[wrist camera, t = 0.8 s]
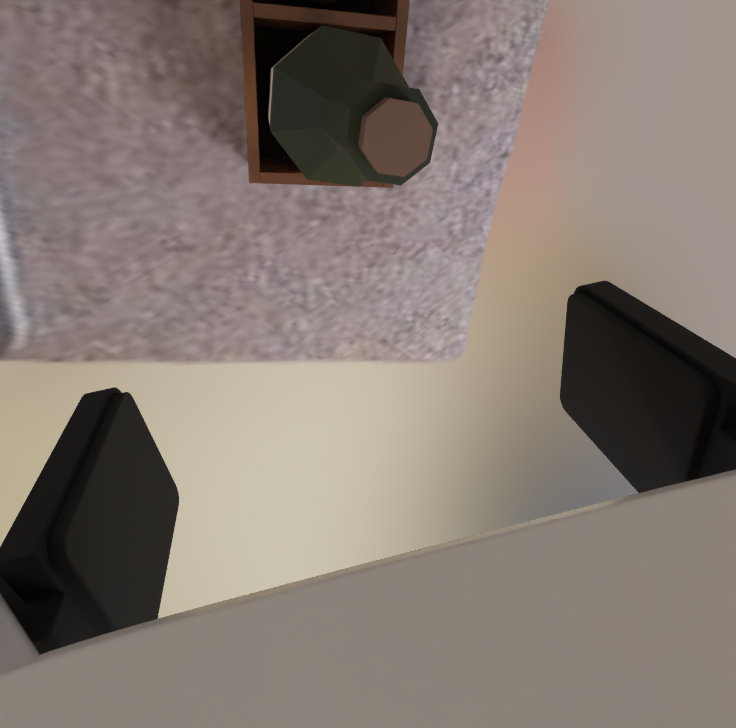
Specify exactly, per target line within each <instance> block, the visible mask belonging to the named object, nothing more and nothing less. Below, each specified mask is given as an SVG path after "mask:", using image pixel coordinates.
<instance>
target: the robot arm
mask: <svg viewBox="0 0 736 728" xmlns="http://www.w3.org/2000/svg"><path fill="white" fill-rule="evenodd" d="M560 400H561V403H562V406H563V408H564V410H565V411H566V412H567V413H568V415H569V416H570V417H571V418H572V419H573V420H574V421H575V422H576V424H578V426H579V427H580V428H581V429H582V430H583V431H584V432H585V433H586V435H587V436H588V437H589V438H590V439H591V440H592V441H593V442H594V444H595V445H596V446H597V447H598V448H599V449H600V450H601V451H602V452H603V454H604V455H605V456H606V457H607V458H608V459H609V460H610V461H611V462H612V464H613V465H614V466H615V467H616V468H617V469H618V470H619V471H620V472H621V473H622V475H623V476H624V477H625V478H626V479H627V480H628V481H629V483H631V485H632V486H633V487H634V488H635V489H636V490H637V491H638V494H634V495H630V496H626V497H622V498H619V499H614V500H610V501H606V502H602V503H598V504H594V505H591V506H587V507H583V508H579V509H575V510H571V511H567V512H563V513H559V514H555V515H551V516H547V517H543V518H539V519H535V520H531V521H527V522H523V523H520V524H516V525H512V526H508V527H504V528H501V529H497V530H493V531H489V532H485V533H481V534H477V535H473V536H469V537H465V538H462V539H458V540H454V541H450V542H446V543H442V544H438V545H434V546H430V547H427V548H423V549H419V550H415V551H411V552H407V553H404V554H400V555H396V556H392V557H388V558H384V559H380V560H376V561H373V562H369V563H365V564H361V565H357V566H354V567H350V568H346V569H342V570H338V571H335V572H331V573H327V574H323V575H320V576H316V577H312V578H308V579H305V580H301V581H297V582H293V583H289V584H285V585H282V586H278V587H274V588H270V589H267V590H263V591H259V592H255V593H251V594H248V595H244V596H240V597H236V598H233V599H229V600H225V601H222V602H218V603H214V604H210V605H206V606H203V607H199V608H195V609H192V610H188V611H185V612H181V613H177V614H174V615H170V616H167V617H163V618H159V619H157V618H158V613H159V608H160V602H161V597H162V591H163V586H164V581H165V576H166V570H167V564H168V559H169V554H170V548H171V543H172V538H173V532H174V527H175V521H176V516H177V511H178V505H179V495H178V491H177V487H176V485H175V483H174V481H173V478H172V477H171V474H170V472H169V470H168V468H167V466H166V464H165V462H164V460H163V458H162V456H161V454H160V452H159V450H158V448H157V446H156V444H155V442H154V440H153V438H152V436H151V434H150V432H149V430H148V428H147V425H146V423H145V422H144V419H143V417H142V415H141V413H140V411H139V409H138V407H137V405H136V403H135V401H134V399H133V397H132V396H131V394H130V393H128V392H125V393H121V391H120V390H118V389H117V388H110V389H105V390H101V391H96V392H91V393H87V394H84V395H83V397H82V398H81V400H80V402H79V403H78V405H77V407H76V409H75V411H74V413H73V415H72V417H71V418H70V420H69V422H68V424H67V426H66V427H65V429H64V431H63V433H62V435H61V437H60V438H59V440H58V442H57V444H56V446H55V448H54V450H53V451H52V453H51V455H50V457H49V459H48V460H47V463H46V464H45V466H44V468H43V470H42V472H41V473H40V475H39V477H38V479H37V481H36V483H35V484H34V486H33V488H32V490H31V492H30V494H29V496H28V497H27V499H26V501H25V503H24V505H23V506H22V508H21V510H20V512H19V514H18V516H17V517H16V519H15V521H14V523H13V525H12V527H11V529H10V531H9V532H8V534H7V536H6V538H5V540H4V541H3V543H2V545H1V547H0V728H736V358H734V357H733V356H731V355H729V354H728V353H726V352H724V351H723V350H721V349H719V348H718V347H716V346H714V345H712V344H711V343H709V342H708V341H706V340H704V339H703V338H701V337H699V336H698V335H696V334H694V333H693V332H691V331H689V330H688V329H686V328H685V327H683V326H681V325H679V324H678V323H676V322H675V321H673V320H671V319H670V318H668V317H666V316H665V315H663V314H661V313H660V312H658V311H656V310H655V309H653V308H651V307H649V306H648V305H646V304H645V303H643V302H641V301H640V300H638V299H636V298H635V297H633V296H631V295H630V294H628V293H627V292H625V291H623V290H621V289H620V288H618V287H617V286H615V285H613V284H612V283H610V282H608V281H601V282H596V283H592V284H588V285H583V286H579V287H577V288H576V290H575V292H574V294H572V295H571V296H569V298H568V302H567V314H566V328H565V340H564V352H563V364H562V377H561V389H560Z"/></svg>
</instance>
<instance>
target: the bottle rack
mask: <svg viewBox="0 0 736 728" xmlns="http://www.w3.org/2000/svg"><path fill="white" fill-rule="evenodd" d="M240 9H241V29H242V49H243V68H244V88H245V107H246V127H247V146H248V166H249V182H250V183H270V184H299V185H329V186H351V185H343V184H336V183H329V182H322V181H315V180H308V179H306V178H305V176H304V175H303V174H302V172H301V171H300V170H299V168H298V167H297V166H296V164H295V163H294V162H293V160H292V159H291V158H279V157H260V149H259V124H258V99H257V74H256V49H255V27H265V28H275V29H286V30H297V31H307V32H314V31H315V30H317V29H318V28H319V27H321V26H322V25H323V26H327V27H332V28H336V29H341V30H346V31H350V32H355V33H360V34H364V35H369V36H373V37H378V38H381V39H382V41H383V43H384V44H385V46H386V48H387V50H388V51H389V53H390V55H391V57H392V58H393V60H394V62H395V64H396V65H397V67H398V69H399V71H400V72H401V74H402V76H403V68H404V56H405V45H406V33H407V22H408V10H409V0H375V14H364V13H355V12H345V11H335V10H325V9H316V8H306V7H296V6H286V5H277V4H267V3H257V2H254V0H240ZM359 187H387V188H393V184H388V183H381V182H374V181H365V182H364V183H363V184H362V185H360V186H359Z"/></svg>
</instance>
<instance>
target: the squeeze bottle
mask: <svg viewBox="0 0 736 728" xmlns="http://www.w3.org/2000/svg"><path fill="white" fill-rule="evenodd" d="M309 1H314V2H319V3H324V4H329V3H332V2H336V1H339V0H309Z"/></svg>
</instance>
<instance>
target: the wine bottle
mask: <svg viewBox="0 0 736 728" xmlns="http://www.w3.org/2000/svg"><path fill="white" fill-rule="evenodd" d="M267 114H268V119H269V124H270V130H271V133H272V134H273V135H274V137H275V138H276V139H277V141H278V142H279V143H280V145H281V146H282V147H283V149H284V150H285V151H286V153H287V154H288V155H289V156H290V158H291V159H292V160H293V162H294V163H295V164H296V166H297V167H298V168H299V170H300V171H301V172H302V174H303V175H304V176H305V178H306V179H308V180H315V181H322V182H329V183H336V184H343V185H351V186H358V187H359V186H360V185H362V184H363V183H364V182H365V181H374V182H381V183H388V184H395V185H402V184H403V183H405V182H406V181H407V180H409V179H410V178H411V177H412V176H414V175H415V174H416V173H417V172H419V171H420V170H421V169H423V168H424V167H425V166H426V165H428V164H429V163H430V160H431V155H432V150H433V146H434V141H435V136H436V131H437V127H438V123H437V121H436V119H435V117H434V115H433V114H432V112H431V110H430V108H429V106H428V105H427V103H426V101H425V99H424V97H423V96H422V94H421V92H420V90H419V89H414V88H409V87H408V85H407V83H406V81H405V79H404V78H403V76H402V74H401V72H400V71H399V69H398V67H397V65H396V64H395V62H394V60H393V58H392V57H391V55H390V53H389V51H388V50H387V48H386V46H385V44H384V43H383V41H382V39H381V38H378V37H373V36H369V35H364V34H360V33H355V32H350V31H346V30H341V29H336V28H332V27H327V26H323V25H322V26H321V27H319V28H318V29H317V30H315V31H314V32H313V33H312V34H310V35H309V36H308V37H306V38H305V39H304V40H302V41H301V42H300V43H299V44H297V45H296V46H295V47H294V48H293V49H292V50H291V51H290V52H288V53H287V54H286V55H285V56H284V57H283V58H282V59H280V60H279V61H278V62H277V63H276V64H275V65H274V66H272V67H271V68H270V73H269V90H268V107H267Z"/></svg>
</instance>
